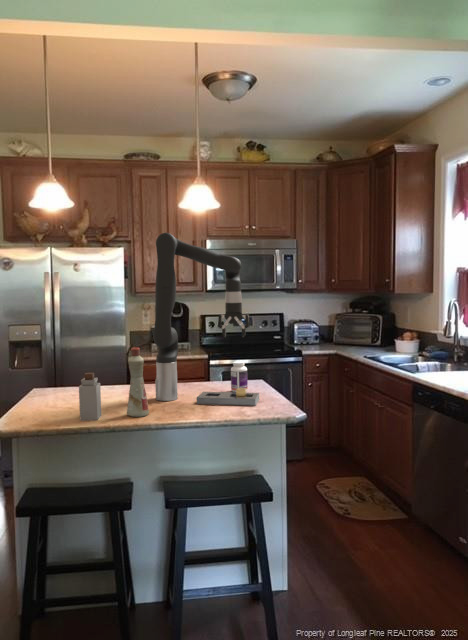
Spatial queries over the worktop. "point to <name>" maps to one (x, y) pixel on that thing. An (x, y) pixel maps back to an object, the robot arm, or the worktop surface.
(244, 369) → the pill bottle
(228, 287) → the robot arm
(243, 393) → the block
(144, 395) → the bottle
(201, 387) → the worktop surface
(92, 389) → the perfume bottle
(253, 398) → the silver slotted board
